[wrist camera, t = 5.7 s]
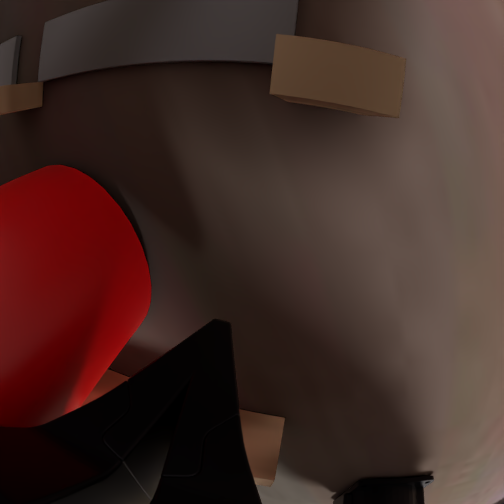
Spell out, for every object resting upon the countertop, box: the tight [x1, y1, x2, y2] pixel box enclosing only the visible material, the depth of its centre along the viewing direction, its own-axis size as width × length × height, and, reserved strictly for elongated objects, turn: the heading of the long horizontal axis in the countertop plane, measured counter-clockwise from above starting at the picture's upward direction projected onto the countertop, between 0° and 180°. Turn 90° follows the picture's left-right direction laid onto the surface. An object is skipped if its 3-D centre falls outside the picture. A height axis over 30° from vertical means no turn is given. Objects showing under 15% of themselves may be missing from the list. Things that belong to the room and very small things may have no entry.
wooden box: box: [0, 0, 406, 487], centre depth 9 cm, size 23×18×5 cm
